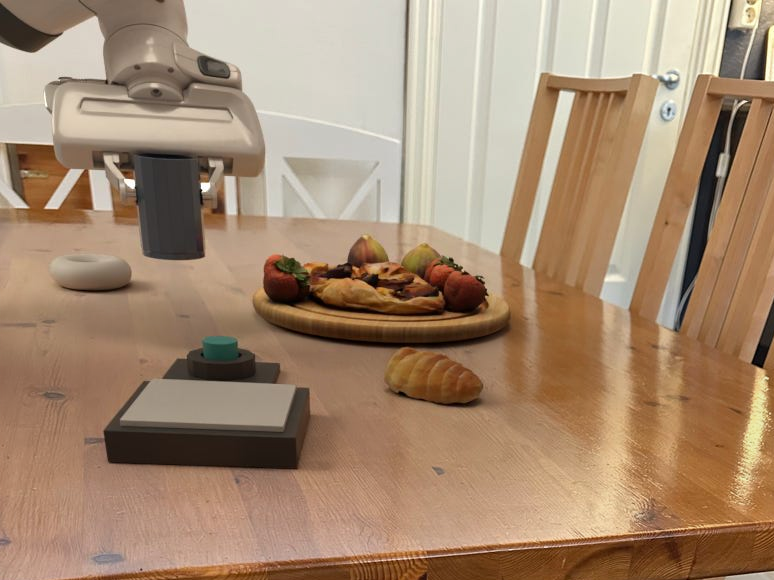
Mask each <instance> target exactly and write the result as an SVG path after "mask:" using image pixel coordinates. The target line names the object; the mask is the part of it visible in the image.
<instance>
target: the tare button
mask: <svg viewBox="0 0 774 580" xmlns="http://www.w3.org/2000/svg"><path fill="white" fill-rule="evenodd" d="M201 341H202V348H203V354H204V358H206V359H211V360H230V359H236V358H239V355H238V348H239V341H238V339H237V338H235V337H233V336H228V335H210V336H205V337H204V338H202V340H201Z"/></svg>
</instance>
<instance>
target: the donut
mask: <svg viewBox="0 0 774 580" xmlns="http://www.w3.org/2000/svg"><path fill="white" fill-rule="evenodd" d="M132 272H133V271H132V267H131V266H130V263H128V262H127V261H126V260H125V259H123V258H122V257H120V256H116V255H111V254H107V253H105V254H104V253H69V254H64V255H59V256H57V257H56V258H53V260H52V262H51V263H50V265H49V274H50V275H49V276H50V277H51V278H52V280H53V281H54V282H55V283H56V284H58V285H59V286H61V287H63V288H66V289H71V290H77V291H80V290H81V291H108V290H115V289H119V288H122V287H125V286H126V285H128V284H129V283H130V281H131V279H132V274H133V273H132Z"/></svg>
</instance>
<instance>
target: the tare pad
mask: <svg viewBox="0 0 774 580" xmlns="http://www.w3.org/2000/svg"><path fill="white" fill-rule="evenodd" d="M238 355H239V358H236V359H230V360H211V359H206V358H204V354H203V347H199V348H196V349H193V350H189V352H188V353H187V354H186V358H178V357H177V358H176V359H175V361H174V362H173V363H172V364H171V366H170V367H169V368H168V369H167V371H166V372H165V374H164V375H163V376H162V377H161V379H173V380H196V381H219V382H242V383H265V384H277V381H278V378H279V376H280V373H281V363H280V362H268V361H267V362H264V361H263V362H262V361H256V354H255V353H254V352H252V351H251V350H249V349H246V348H245V349H244V348H241V347H240V348H239V347H238Z"/></svg>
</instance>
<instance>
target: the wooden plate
mask: <svg viewBox="0 0 774 580" xmlns="http://www.w3.org/2000/svg"><path fill="white" fill-rule="evenodd" d="M463 269H464V266H462V265H459V264H458V263H455V260H454V258H453V257H451V256H448V257H447V256H446V255H444V254H443V255H440V253H439V252H438V251H437V250H436V249H434V248H432V247H431V246H430V245H429V244H428V243H426V242H423V243H421V244H419V245H418V246H416V247H414V248H413V249H411V250H410V251H408V252H407V253H406V254H405V255H404V257H403V258H402V261H401V262H400V264H399V263H396V262H394V261H390V259H389V255H388V253H387V252H386V250H385V248H384V246H383V245H382V244H381V243H380V242H379V241H377V240H376V239H374V238H373V237H371V236H370V234H366V235H361V236H360V237H359V238H358V239H357V240H356V241H355V242H354V243H353V244H352V246H351V247H350V249H349V252H348V254H347V260H346V262H344V263H341V264H338V265H332V266H329V263H326V262H316V261H314V262H307V263H304V265H301V262H300V261H298V260H297V259H296V258H295V257H288V256H285V255H284V254H283V253H282V254H277V253H275V254H272V255H270V256H268V257H267V259H266V260H265V262H264V265H263V277H262V278H263V279H262V286H261V287H259V288H258V289H257V290H256V291H255V292H254V294H253V296H252V306H253V309H254V310H255V312H256V313H257V314H258V315H259V316H260V318H262V319H264V320H265V321H267V322H268V323H271V324H274V325H276V326H279V327H281V328H284V329H288V330H292V331H297V332H299V333H304V334H308V335H314V336H320V337H325V338H326V337H327V338H333V339H342V340H351V341H362V342H374V343H397V344H406V343H407V344H416V343H417V344H424V343H444V342H445V343H447V342H453V341H454V342H455V341H462V340H469V339H470V340H471V339H474V338H480V337H484V336H487V335H488V336H489V335H491V334H494V333H496V332H498V331H500V330H502V329H503V328H504V327H506V326H507V325H508V323H509V322H510V320H511V317H512V312H511V308H510V306H509V304H508V303H507V302H506V301H505V300H504V299H503V298H501V297H499V296H498V295H496V294H493V293H491V292H489V291H488V288H486V285H485V284H486V281H484V280H485V277H484V276H483V275H477V274H476V275H472V274H471V273H470V272H468V271H466V270H463ZM462 270H463V271H462Z"/></svg>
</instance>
